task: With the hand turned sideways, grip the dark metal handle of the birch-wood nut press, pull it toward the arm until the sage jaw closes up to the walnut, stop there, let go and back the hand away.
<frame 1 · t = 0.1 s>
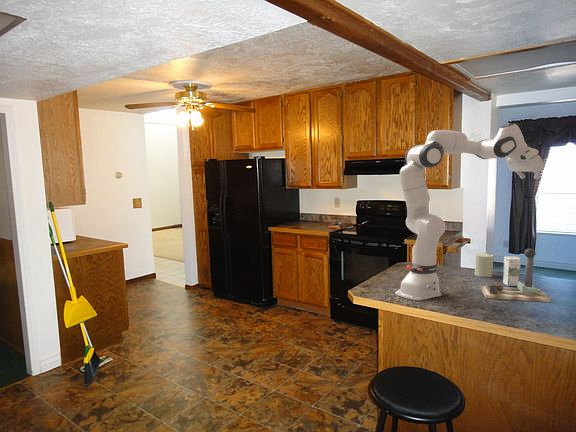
hand: (530, 178, 196), 54 cm above the table, tool tilted 30°, fingers open, 8 cm apart
can: (483, 275, 220), on the table
syrup box: (510, 285, 201), on the table
press handle: (527, 269, 182), point 13 cm above the table, slide at 0.0 cm
press frame: (513, 295, 185), on the table
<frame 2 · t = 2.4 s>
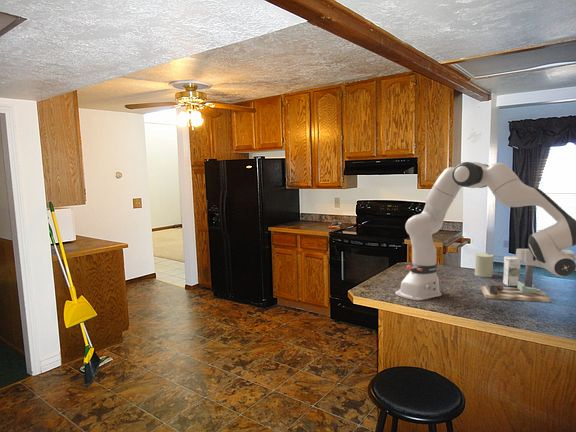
hand: (538, 250, 169), 24 cm above the table, tool horizontal, fingers open, 8 cm apart
nothing on the table moved.
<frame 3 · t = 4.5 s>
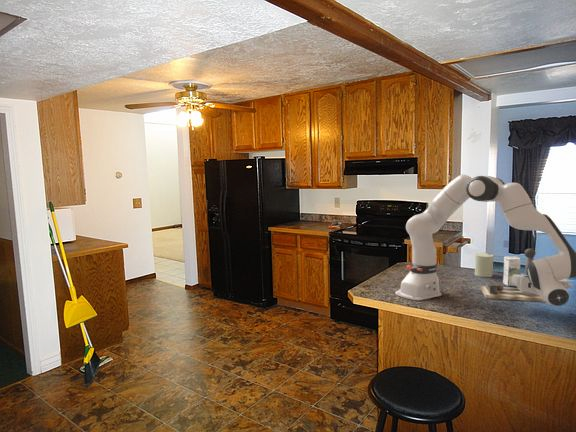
hand: (534, 276, 174), 12 cm above the table, tool horizontal, fingers open, 8 cm apart
nothing on the table moved.
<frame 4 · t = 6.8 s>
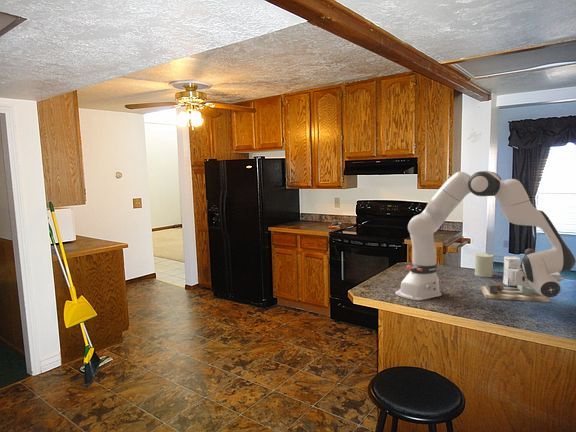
hand: (528, 270, 183), 12 cm above the table, tool horizontal, fingers closed on press handle, 3 cm apart
press handle: (527, 269, 182), point 13 cm above the table, slide at 0.0 cm, touching gripper
everything else where it was.
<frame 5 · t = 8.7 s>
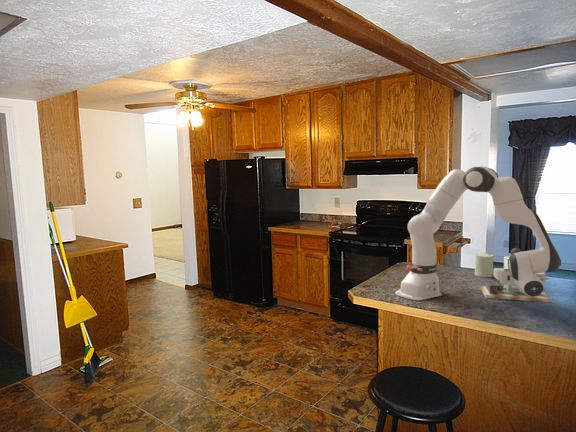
hand: (514, 270, 185), 12 cm above the table, tool horizontal, fingers closed on press handle, 3 cm apart
press handle: (514, 268, 184), point 13 cm above the table, slide at 5.7 cm, touching gripper
everything else where it was.
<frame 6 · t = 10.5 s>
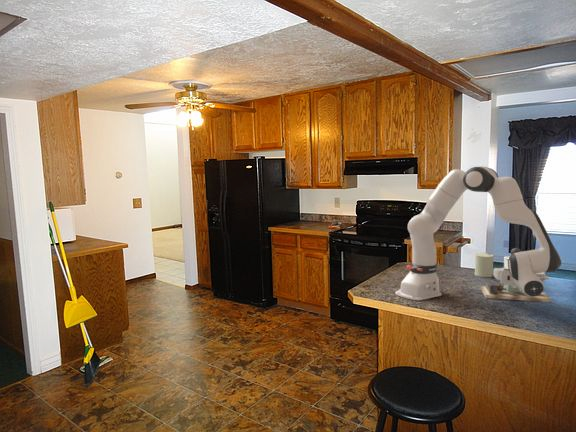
hand: (514, 270, 185), 12 cm above the table, tool horizontal, fingers open, 8 cm apart
press handle: (514, 268, 184), point 13 cm above the table, slide at 5.7 cm
everything else where it was.
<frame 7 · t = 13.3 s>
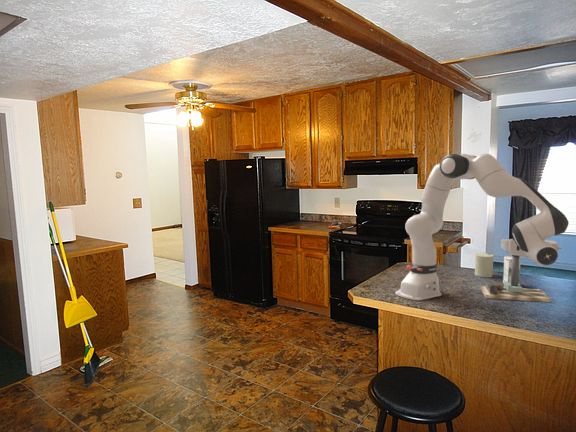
hand: (523, 241, 171), 28 cm above the table, tool horizontal, fingers open, 8 cm apart
nothing on the table moved.
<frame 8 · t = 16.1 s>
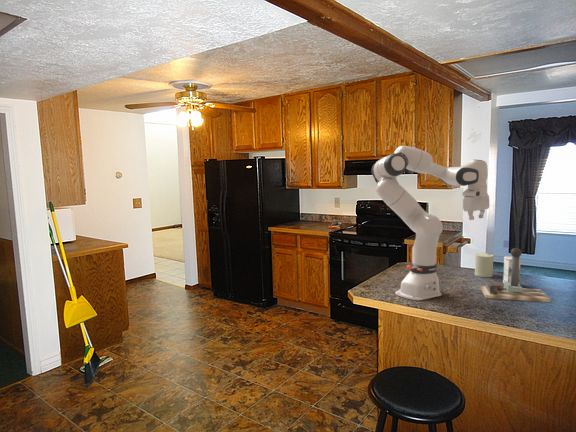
hand: (476, 219, 200), 34 cm above the table, tool pointing down, fingers open, 8 cm apart
nothing on the table moved.
at the end: press handle slide at 5.7 cm; the gripper is holding nothing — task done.
